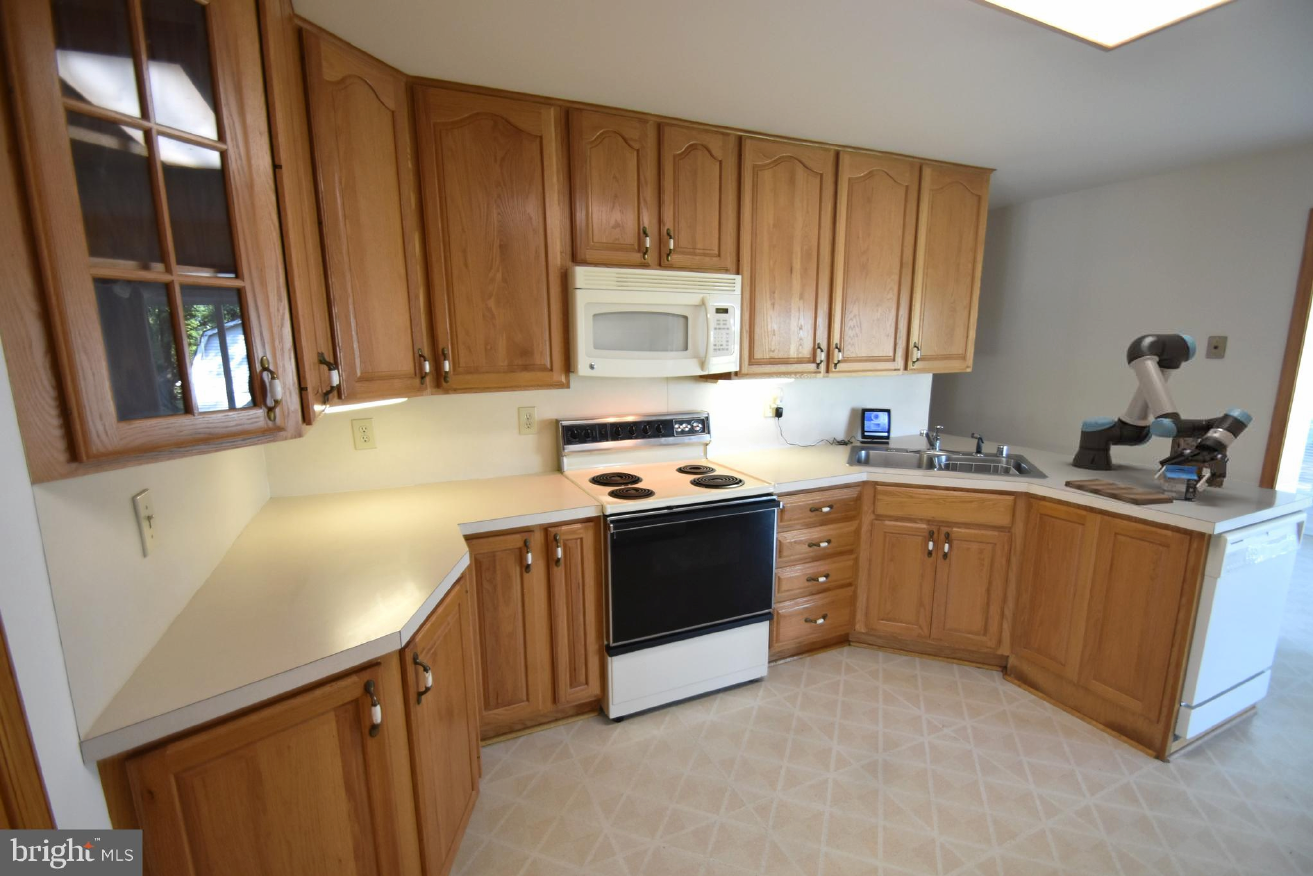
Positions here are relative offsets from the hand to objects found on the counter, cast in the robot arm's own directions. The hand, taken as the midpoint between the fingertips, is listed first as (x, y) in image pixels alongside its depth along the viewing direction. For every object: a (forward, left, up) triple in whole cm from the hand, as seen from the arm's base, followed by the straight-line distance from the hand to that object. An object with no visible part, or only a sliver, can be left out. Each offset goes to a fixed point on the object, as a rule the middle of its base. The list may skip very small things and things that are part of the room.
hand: (1177, 484), depth 199 cm
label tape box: (0, +2, -6) cm, 6 cm away
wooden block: (-14, +37, -6) cm, 40 cm away
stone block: (-28, +44, -6) cm, 52 cm away
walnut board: (-10, -14, -6) cm, 19 cm away
